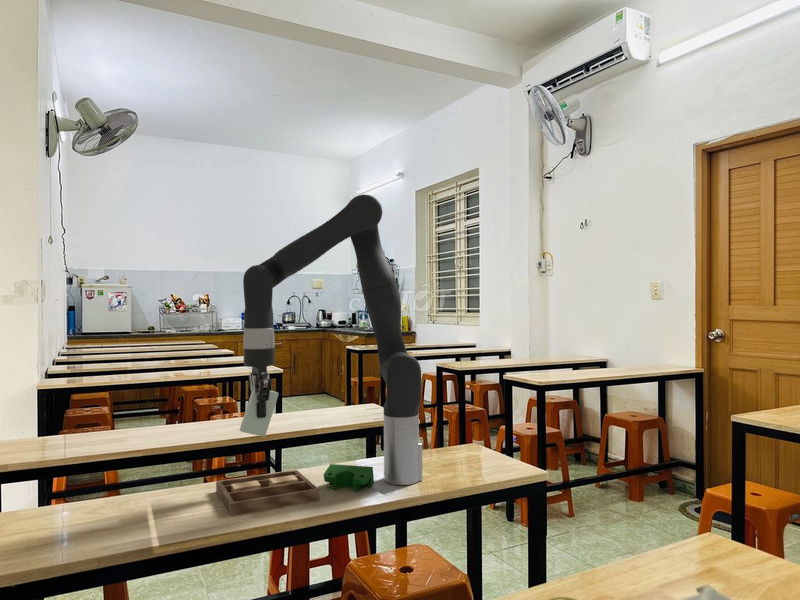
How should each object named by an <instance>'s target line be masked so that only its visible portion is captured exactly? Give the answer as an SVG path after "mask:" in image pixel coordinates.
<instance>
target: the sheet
mask: <svg viewBox="0 0 800 600" xmlns="http://www.w3.org/2000/svg"><path fill="white" fill-rule="evenodd" d="M257 389H258V390H259V388H257ZM261 396H264V393H262V394H261ZM278 397H279V392H277V391H273V390H270V393H269V400H267V402H266V417H265V418H257V410H256V393H254V387H253V390H252V393H251V392H250V397H249V399H248V403H247V405H246V408H245V411H244V415H243V416H242V420H241V424H240V427H239V431H240V432H242V433H246V434H250V435H255V436H259V437H263V438H266V434H267V433H268V432H267V431H268V429H269V426H270V423H271V419H272V416H273V413H274V410H275V407H276V405H277V401H278Z"/></svg>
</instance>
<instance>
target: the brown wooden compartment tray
mask: <svg viewBox="0 0 800 600" xmlns="http://www.w3.org/2000/svg"><path fill="white" fill-rule="evenodd" d="M289 475H294V476H295V477H296V478H297V479H298V482H295V483H288V484H282V485H275V486H269V478H276V477H283V476H289ZM255 480H257V481H258V482H259V483H260V485H261V488H256V489H249V490H243V491H236V492H231V484H235V483H242V482H249V481H255ZM215 484H216V485H215V491H216V494H217V496H218V497H219V499H220V501H221V503H222V505H223V506H224V508H225V510H226V511H227V514H228V515H229V517H231V516H232V517H233V516H238V515H243V514H250V513H254V512H260V511H267V510H272V509H273V510H274V509H278V508H279V509H280V508H284V507H290V506H295V505H301V504H302V505H303V504H307V503H313V502H319V501H320V489H319V488H318V487H317V486H316V485H315V484H313V483H312V482H311V481H310V480H309V479H308V478H307V477H306V476H305V475H303V474H302V473H301V472H299V470H297V469H293V470H291V469H290V470H286V471H285V470H284V471H279V472H272V473H265V474H258V475H251V476H243V477H237V478H229V479H223V480H222V479H221V480H216V481H215Z"/></svg>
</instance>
